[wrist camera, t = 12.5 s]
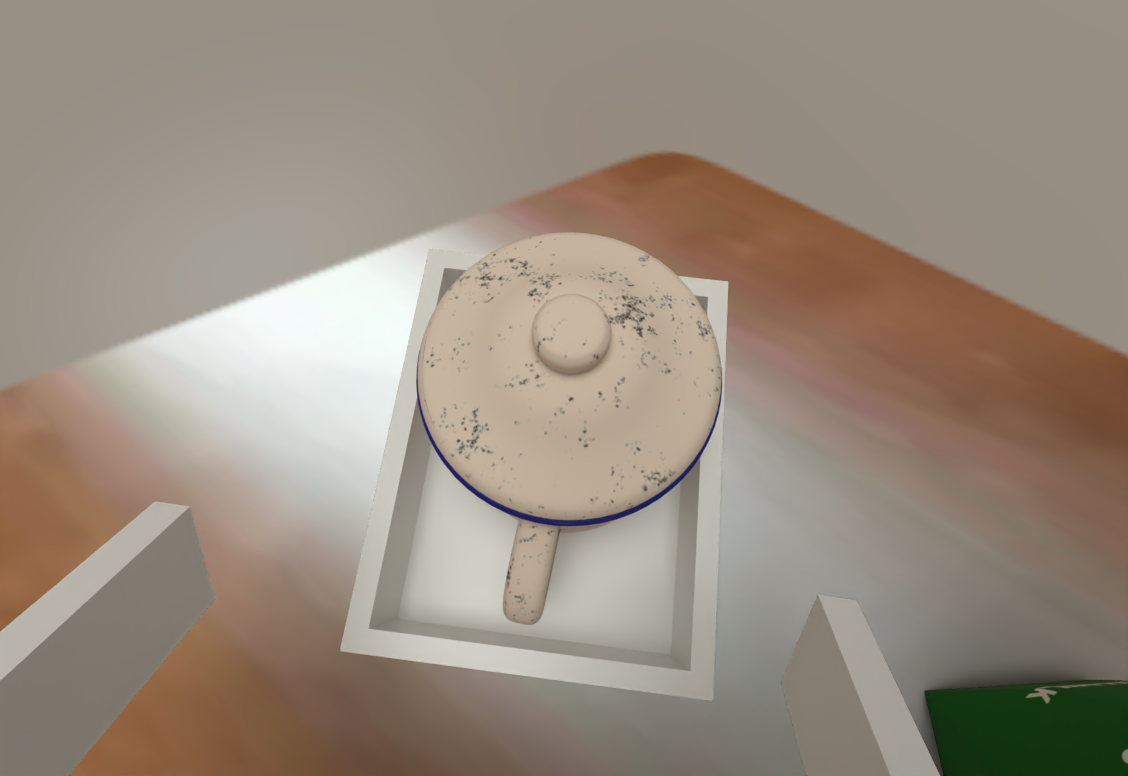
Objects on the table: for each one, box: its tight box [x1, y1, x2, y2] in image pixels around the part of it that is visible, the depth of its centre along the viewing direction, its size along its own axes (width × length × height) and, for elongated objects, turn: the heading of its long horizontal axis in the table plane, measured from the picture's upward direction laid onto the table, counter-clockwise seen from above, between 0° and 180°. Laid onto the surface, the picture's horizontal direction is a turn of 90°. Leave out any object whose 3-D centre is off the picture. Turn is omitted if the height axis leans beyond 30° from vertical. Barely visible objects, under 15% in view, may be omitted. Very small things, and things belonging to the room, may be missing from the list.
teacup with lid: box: [416, 232, 722, 625], centre depth 19 cm, size 12×9×12 cm
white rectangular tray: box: [340, 249, 728, 701], centre depth 23 cm, size 13×16×4 cm
